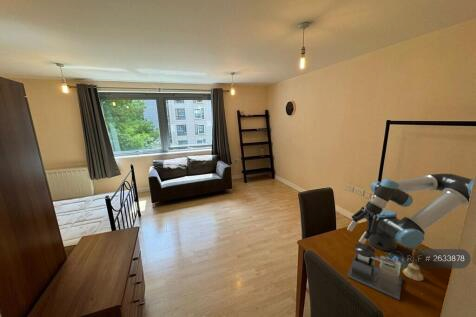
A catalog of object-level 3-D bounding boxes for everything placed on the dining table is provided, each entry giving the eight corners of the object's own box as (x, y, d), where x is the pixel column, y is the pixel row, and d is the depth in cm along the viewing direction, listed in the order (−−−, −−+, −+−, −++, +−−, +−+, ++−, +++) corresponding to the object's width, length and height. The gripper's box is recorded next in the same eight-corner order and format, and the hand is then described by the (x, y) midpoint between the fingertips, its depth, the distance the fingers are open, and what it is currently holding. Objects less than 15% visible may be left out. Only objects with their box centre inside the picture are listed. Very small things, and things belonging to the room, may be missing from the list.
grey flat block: (384, 262, 99) (384, 261, 99) (394, 266, 97) (395, 265, 97) (384, 264, 98) (384, 263, 98) (394, 268, 96) (394, 267, 96)
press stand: (354, 260, 118) (356, 239, 115) (402, 278, 103) (405, 256, 100) (346, 276, 106) (348, 254, 104) (399, 300, 92) (402, 275, 89)
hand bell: (399, 272, 108) (402, 246, 104) (408, 266, 111) (412, 241, 107) (417, 283, 100) (422, 255, 97) (427, 277, 103) (431, 250, 100)
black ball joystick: (356, 255, 113) (357, 241, 111) (393, 269, 102) (395, 254, 100) (351, 264, 107) (353, 249, 105) (391, 280, 96) (393, 264, 94)
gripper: (358, 194, 122) (339, 223, 125) (384, 210, 97) (360, 245, 100) (369, 200, 122) (350, 228, 125) (398, 217, 97) (373, 252, 100)
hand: (354, 236), depth 112 cm, fingers open, 13 cm apart
